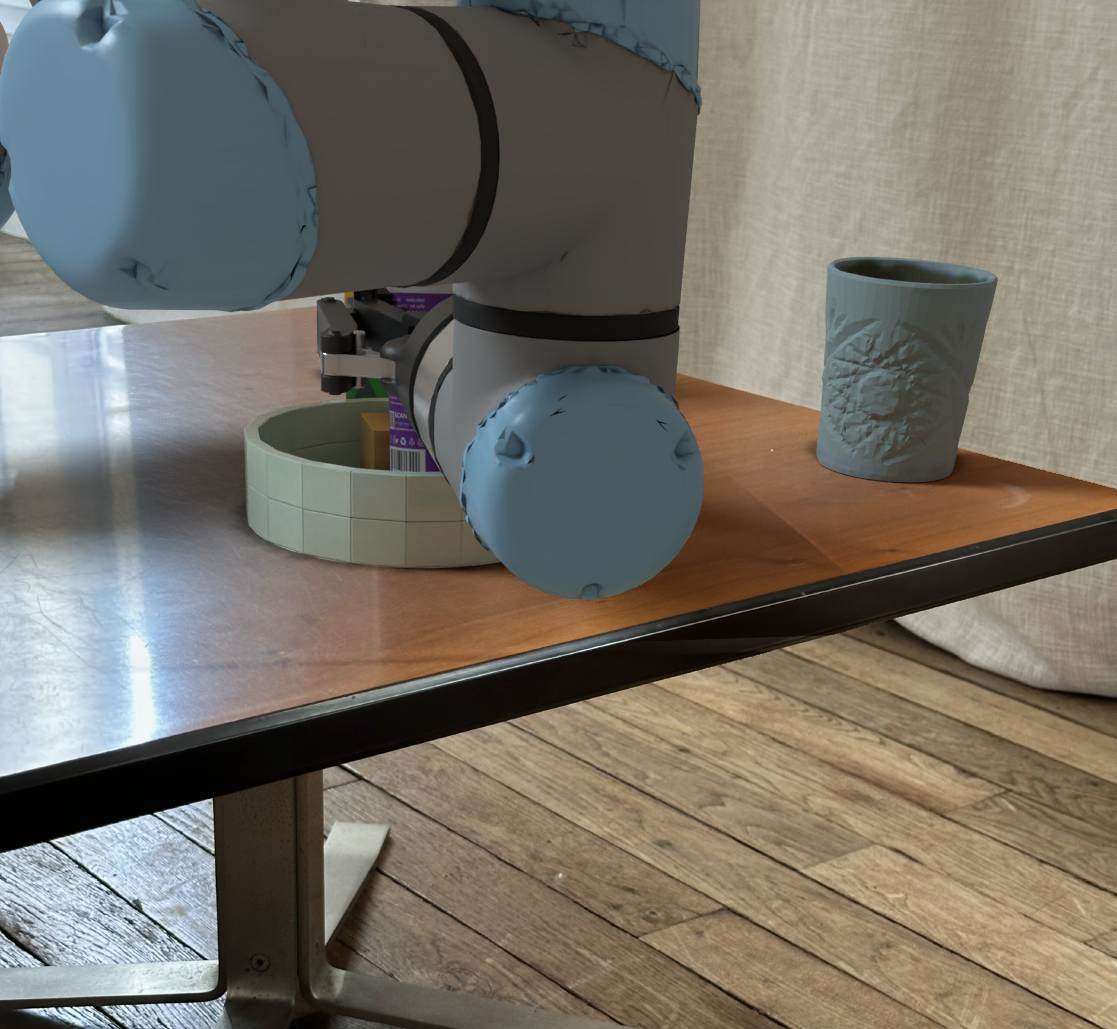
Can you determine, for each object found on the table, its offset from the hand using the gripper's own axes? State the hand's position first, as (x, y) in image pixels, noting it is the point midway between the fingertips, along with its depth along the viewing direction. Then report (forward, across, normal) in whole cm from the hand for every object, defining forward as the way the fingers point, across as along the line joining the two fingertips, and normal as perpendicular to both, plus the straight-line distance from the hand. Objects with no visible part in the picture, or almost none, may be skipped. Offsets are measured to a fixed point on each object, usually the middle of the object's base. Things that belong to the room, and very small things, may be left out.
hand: (418, 301), depth 83 cm
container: (-7, 0, -9) cm, 11 cm away
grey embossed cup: (+5, +30, -11) cm, 33 cm away
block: (-2, -1, -10) cm, 10 cm away
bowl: (-6, -1, -10) cm, 12 cm away
